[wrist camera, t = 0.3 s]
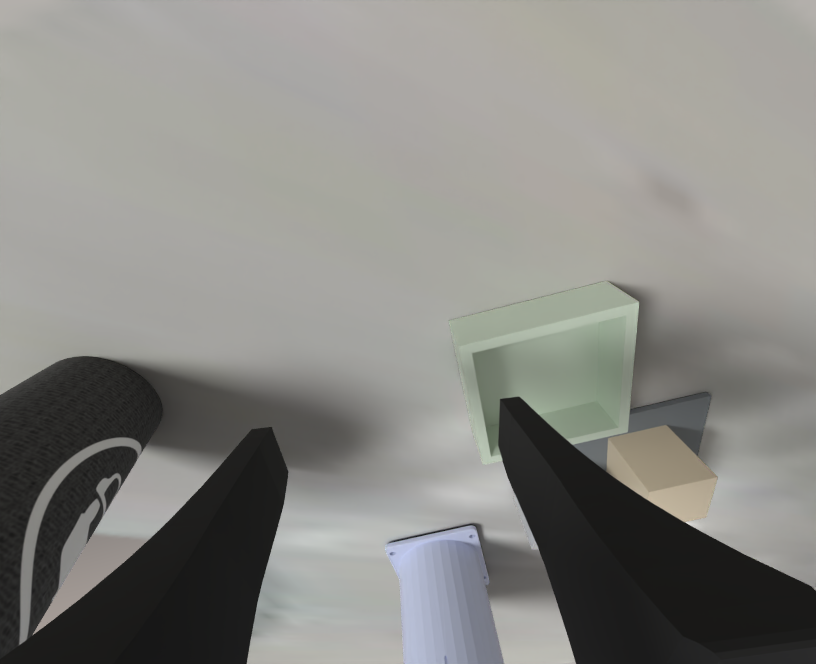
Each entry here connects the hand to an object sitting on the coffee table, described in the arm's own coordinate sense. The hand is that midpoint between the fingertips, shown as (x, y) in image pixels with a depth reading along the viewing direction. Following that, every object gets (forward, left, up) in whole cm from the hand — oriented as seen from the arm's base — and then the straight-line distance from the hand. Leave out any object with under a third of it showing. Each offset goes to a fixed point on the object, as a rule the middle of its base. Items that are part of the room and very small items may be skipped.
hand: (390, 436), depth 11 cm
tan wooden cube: (-17, -15, -10) cm, 24 cm away
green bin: (-6, -8, -10) cm, 14 cm away
